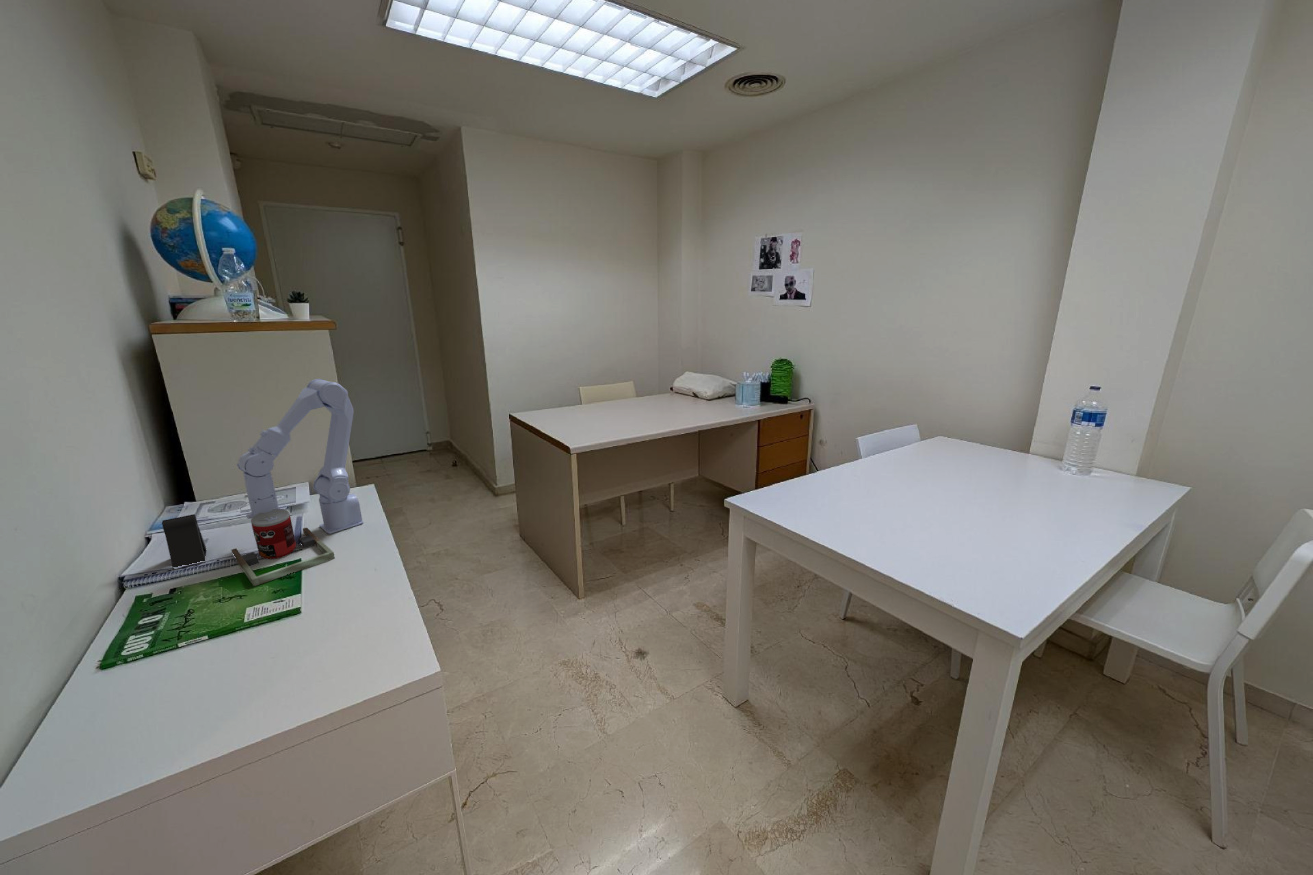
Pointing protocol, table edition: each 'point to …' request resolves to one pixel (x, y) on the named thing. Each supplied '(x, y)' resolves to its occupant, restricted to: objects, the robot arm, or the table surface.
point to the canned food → (274, 534)
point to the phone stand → (184, 540)
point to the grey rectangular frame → (288, 569)
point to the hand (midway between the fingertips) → (272, 541)
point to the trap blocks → (253, 559)
